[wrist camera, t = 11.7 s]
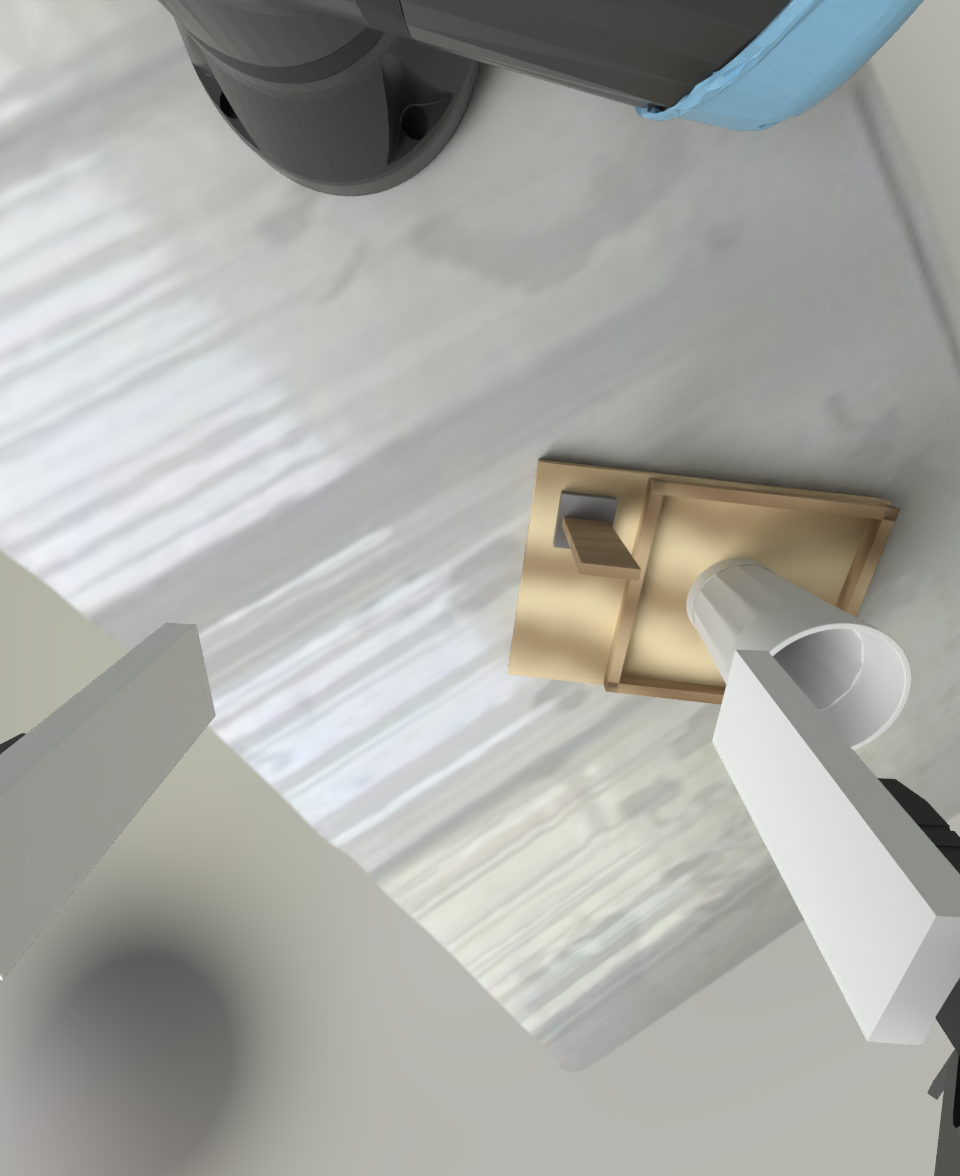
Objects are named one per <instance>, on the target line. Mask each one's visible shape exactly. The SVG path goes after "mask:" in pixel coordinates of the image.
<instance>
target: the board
mask: <svg viewBox="0 0 960 1176" xmlns="http://www.w3.org/2000/svg"><path fill="white" fill-rule="evenodd" d="M891 503H892V502H890V501H887V500H884V499H882V498H876V497H867V496H859V495H850V494H841V493H832V492H823V491H814V490H806V489H797V488H788V487H779V486H770V485H762V484H753V483H744V482H735V481H726V480H717V479H709V478H700V477H691V476H682V475H673V474H664V473H656V472H647V471H638V470H629V469H620V468H612V467H603V466H594V465H585V464H576V463H567V462H559V461H550V460H541V459H538V465H537V472H536V479H535V486H534V493H533V500H532V506H531V513H530V520H529V527H528V534H527V541H526V548H525V555H524V562H523V569H522V576H521V583H520V590H519V597H518V604H517V611H516V618H515V625H514V632H513V639H512V646H511V653H510V660H509V674H511V675H520V676H529V677H538V678H547V679H556V680H564V681H573V682H582V683H591V684H600V685H604V687H605V690H606V691H607V692H616V693H625V694H634V695H643V696H652V697H660V698H669V699H678V700H687V701H696V702H704V703H713V704H722V701H723V697H724V693H725V689H726V683H725V681H724V679H723V677H722V676H721V674H720V672H719V670H718V668H717V666H716V665H715V663H714V661H713V659H712V657H711V655H710V653H709V652H708V650H707V648H706V646H705V644H704V642H703V641H702V639H701V637H700V635H699V633H698V632H697V630H696V629H695V628H694V626H693V625H692V623H691V622H690V620H689V617H688V614H687V608H686V602H687V596H688V593H689V590H690V588H691V586H692V584H693V583H694V581H695V580H696V579H697V577H698V576H699V575H700V574H701V573H702V572H703V571H705V570H706V569H707V568H709V567H710V566H712V565H714V564H716V563H718V562H720V561H723V560H727V559H732V558H747V559H752V560H755V561H758V562H760V563H762V564H763V565H765V566H766V567H768V568H769V569H770V570H772V571H773V572H774V573H775V574H777V575H779V576H781V577H783V578H784V579H786V580H788V581H790V582H791V583H793V584H795V585H797V586H799V587H800V588H802V589H804V590H806V591H807V592H809V593H811V594H813V595H815V596H816V597H818V598H820V599H822V600H823V601H825V602H827V603H829V604H831V605H832V606H835V607H837V608H839V609H841V610H843V611H845V612H847V613H849V614H851V615H853V616H854V617H856V616H857V613H858V611H859V608H860V606H861V603H862V601H863V599H864V596H865V594H866V591H867V589H868V586H869V584H870V581H871V579H872V577H873V574H874V572H875V569H876V567H877V564H878V562H879V559H880V557H881V554H882V552H883V550H884V547H885V545H886V542H887V540H888V537H889V535H890V532H891V530H892V528H893V525H894V523H895V520H896V518H897V515H898V513H899V510H900V509H898V508H896V507H893V506H890V505H891Z"/></svg>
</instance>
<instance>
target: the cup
mask: <svg viewBox="0 0 960 1176" xmlns="http://www.w3.org/2000/svg"><path fill="white" fill-rule="evenodd" d="M686 608H687V614H688V617H689V620H690V622H691V623H692V625H693V626H694V628H695V629H696V630H697V632H698V633H699V635H700V637H701V639H702V641H703V642H704V644H705V646H706V648H707V650H708V652H709V653H710V655H711V657H712V659H713V661H714V663H715V665H716V666H717V668H718V670H719V672H720V674H721V676H722V677H723V679H724V681H725V683H726V685H727V681H728V677H729V673H730V669H731V665H732V661H733V656H734V652H735V650H757V651H768V652H769V653H770V654H771V655H772V656H773V658H774V659H775V660H776V661H777V662H778V663H779V665H780V666H781V667H782V668H783V669H784V670H785V672H786V673H787V674H788V675H789V676H790V677H791V678H792V680H793V681H794V682H795V683H796V684H797V685H798V687H799V688H800V689H801V690H802V691H803V692H804V694H805V695H806V696H807V697H808V698H809V699H810V701H811V702H812V703H813V704H814V705H815V706H816V708H817V709H818V710H819V711H820V712H821V713H822V715H823V716H824V717H825V718H826V719H827V720H828V722H829V723H830V724H831V725H832V726H833V727H834V728H835V730H836V731H837V732H838V733H839V734H840V735H841V737H842V738H843V739H844V740H845V741H846V742H847V744H848V745H849V746H850V747H851V748H852V749H853V751H854V750H856V749H858V748H860V747H862V746H864V745H866V744H868V743H869V742H871V741H872V740H874V739H875V738H877V737H878V736H879V735H881V734H882V733H883V732H884V731H885V730H886V729H887V728H888V727H889V726H890V725H891V724H892V723H893V722H894V721H895V720H896V718H897V717H898V716H899V714H900V713H901V711H902V709H903V707H904V705H905V703H906V701H907V699H908V696H909V692H910V688H911V668H910V664H909V660H908V658H907V656H906V654H905V652H904V650H903V649H902V647H901V646H900V645H899V644H898V643H897V642H896V641H895V640H894V639H893V638H892V637H890V636H889V635H888V634H886V633H884V632H883V631H881V630H879V629H877V628H875V627H873V626H871V625H869V624H868V623H866V622H864V621H862V620H860V619H858V618H856V617H854V616H853V615H851V614H849V613H847V612H845V611H843V610H841V609H839V608H837V607H835V606H832V605H831V604H829V603H827V602H825V601H823V600H822V599H820V598H818V597H816V596H815V595H813V594H811V593H809V592H807V591H806V590H804V589H802V588H800V587H799V586H797V585H795V584H793V583H791V582H790V581H788V580H786V579H784V578H783V577H781V576H779V575H777V574H775V573H774V572H773V571H772V570H770V569H769V568H768V567H766V566H765V565H763V564H762V563H760V562H758V561H755V560H752V559H747V558H732V559H727V560H723V561H720V562H718V563H716V564H714V565H712V566H710V567H709V568H707V569H706V570H705V571H703V572H702V573H701V574H700V575H699V576H698V577H697V579H696V580H695V581H694V583H693V584H692V586H691V588H690V590H689V593H688V596H687V602H686Z"/></svg>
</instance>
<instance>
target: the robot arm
mask: <svg viewBox="0 0 960 1176" xmlns="http://www.w3.org/2000/svg"><path fill="white" fill-rule="evenodd" d="M158 1H159V2H160V3H161V4H162V5H163V6H164V7H165V8H166V9H167V10H168V11H169V12H170V13H171V14H172V15H173V16H174V19H175V21H176V24H177V26H178V29H179V32H180V34H181V37H182V39H183V42H184V44H185V47H186V49H187V52H188V54H189V57H190V59H191V62H192V64H193V66H194V69H195V71H196V73H197V75H198V77H199V79H200V81H201V83H202V85H203V87H204V89H205V91H206V92H207V94H208V96H209V97H210V99H211V101H212V102H213V104H214V105H215V107H216V108H217V110H218V111H219V112H220V114H221V115H222V117H223V118H224V119H225V121H226V122H227V123H228V125H229V126H230V127H231V128H232V129H233V131H234V132H235V133H236V134H237V135H238V136H239V137H240V138H241V139H242V140H243V141H244V142H245V143H246V144H247V145H248V146H249V147H250V148H251V149H252V150H253V151H254V152H256V153H257V154H258V155H259V156H260V157H261V158H262V159H263V160H265V161H266V162H267V163H268V164H269V165H270V166H272V167H273V168H274V169H276V170H277V171H278V172H280V173H281V174H283V175H284V176H286V177H287V178H289V179H291V180H293V181H295V182H296V183H298V184H300V185H303V186H305V187H307V188H310V189H313V190H316V191H319V192H323V193H327V194H332V195H339V196H361V195H368V194H373V193H378V192H381V191H384V190H387V189H390V188H392V187H395V186H397V185H399V184H401V183H403V182H405V181H406V180H408V179H409V178H411V177H412V176H414V175H415V174H417V173H418V172H419V171H421V170H422V169H423V168H424V167H425V166H426V165H428V164H429V163H430V162H431V161H432V160H433V159H434V158H435V157H436V155H437V154H438V153H439V152H440V151H441V150H442V148H443V147H444V146H445V145H446V143H447V142H448V140H449V139H450V137H451V136H452V134H453V133H454V131H455V129H456V128H457V126H458V124H459V122H460V120H461V118H462V116H463V114H464V112H465V110H466V108H467V105H468V103H469V100H470V97H471V95H472V92H473V89H474V85H475V82H476V78H477V74H478V70H479V65H480V62H483V63H486V64H490V65H493V66H497V67H500V68H504V69H507V70H511V71H514V72H517V73H521V74H524V75H528V76H531V77H535V78H538V79H542V80H545V81H548V82H552V83H555V84H559V85H562V86H566V87H569V88H573V89H576V90H579V91H583V92H586V93H590V94H593V95H597V96H600V97H604V98H607V99H610V100H614V101H617V102H621V103H624V104H628V105H631V106H635V108H636V111H637V114H638V115H640V116H642V117H645V118H647V119H650V120H656V121H662V120H667V119H672V118H675V117H678V118H682V119H687V120H691V121H696V122H700V123H705V124H709V125H713V126H718V127H722V128H727V129H731V130H737V131H757V130H763V129H767V128H769V127H771V126H773V125H775V124H777V123H779V122H781V121H783V120H786V119H787V118H790V117H794V116H798V115H800V114H801V113H803V112H805V111H807V110H808V109H810V108H812V107H813V106H815V105H816V104H817V103H819V102H820V101H821V100H823V99H824V98H825V97H827V96H828V95H829V94H831V93H832V92H833V91H834V90H836V89H837V88H838V87H839V86H841V85H842V84H843V83H844V82H845V81H846V80H847V79H849V78H850V77H851V76H852V75H853V74H854V73H855V72H856V71H857V70H858V69H859V68H860V67H862V66H863V65H864V64H865V63H866V62H867V61H868V60H869V59H870V58H871V57H872V56H873V55H874V54H875V53H876V52H877V51H878V50H879V49H880V48H881V47H882V46H883V45H884V44H885V43H886V42H887V41H888V40H889V39H890V38H891V37H892V35H893V34H894V33H895V32H896V31H897V30H898V29H899V28H900V27H901V26H902V25H903V23H904V22H905V21H906V20H907V19H908V18H909V17H910V16H911V14H912V13H913V12H914V11H915V10H916V9H917V7H918V6H919V5H920V4H921V3H922V2H923V0H158ZM215 716H216V715H215V711H214V706H213V701H212V696H211V692H210V687H209V682H208V678H207V673H206V668H205V663H204V659H203V654H202V649H201V644H200V640H199V635H198V630H197V625H196V624H178V623H165V624H164V625H163V626H162V627H160V628H159V629H158V630H156V631H155V632H154V633H153V634H151V635H150V636H149V637H148V638H146V639H145V640H144V641H143V642H141V643H140V644H139V645H138V646H136V647H135V648H134V649H133V650H131V651H130V652H129V653H128V654H126V655H125V656H124V657H123V658H121V659H120V660H119V661H117V662H116V663H115V664H114V665H112V666H111V667H110V668H109V669H107V670H106V671H105V672H104V673H102V674H101V675H100V676H99V677H97V678H96V679H95V680H94V681H92V682H91V683H90V684H89V685H87V686H86V687H85V688H83V689H82V690H81V691H80V692H78V693H77V694H76V695H75V696H73V697H72V698H71V699H70V700H68V701H67V702H66V703H65V704H63V705H62V706H61V707H60V708H58V709H57V710H56V711H55V712H53V713H52V714H51V715H50V716H48V717H47V718H46V719H44V720H43V721H42V722H41V723H39V724H38V725H37V726H36V727H34V728H33V729H32V730H31V731H29V732H28V733H27V734H24V733H23V734H22V733H21V734H20V735H18V736H16V737H14V738H12V739H10V740H8V741H6V742H4V743H2V744H0V980H3V979H4V978H5V977H6V976H7V974H8V973H9V972H10V971H11V969H12V968H13V967H14V966H15V965H16V963H17V962H18V961H19V960H20V958H21V957H22V956H23V955H24V953H25V952H26V951H27V950H28V948H29V947H30V946H31V945H32V943H33V942H34V940H35V939H36V938H37V937H38V936H39V935H40V933H41V932H42V931H43V930H44V928H45V927H46V926H47V925H48V923H49V922H50V921H51V920H52V918H53V917H54V916H55V915H56V914H57V912H58V911H59V910H60V909H61V907H62V906H63V905H64V904H65V902H66V901H67V900H68V899H69V897H70V896H71V895H72V894H73V892H74V891H75V890H76V889H77V887H78V886H79V885H80V884H81V882H82V881H83V880H84V879H85V877H86V876H87V875H88V874H89V872H90V871H91V870H92V869H93V867H94V866H95V865H96V864H97V863H98V861H99V860H100V859H101V858H102V856H103V855H104V854H105V853H106V851H107V850H108V849H109V848H110V846H111V845H112V844H113V843H114V841H115V840H116V839H117V838H118V836H119V835H120V834H121V833H122V831H123V830H124V829H125V828H126V826H127V825H128V824H129V823H130V821H131V820H132V819H133V818H134V816H135V815H136V814H137V812H138V811H139V810H140V809H141V808H142V807H143V805H144V804H145V803H146V802H147V800H148V799H149V798H150V797H151V795H152V794H153V793H154V792H155V790H156V789H157V788H158V787H159V785H160V784H161V783H162V782H163V780H164V779H165V778H166V777H167V775H168V774H169V773H170V772H171V770H172V769H173V768H174V767H175V765H176V764H177V763H178V762H179V760H180V759H181V758H182V757H183V756H184V754H185V753H186V752H187V751H188V749H189V748H190V747H191V746H192V744H193V743H194V742H195V741H196V739H197V738H198V737H199V736H200V734H201V733H202V732H203V730H204V729H205V728H206V727H207V726H208V724H209V723H210V722H211V721H212V719H213V718H214V717H215ZM712 742H713V744H714V746H715V748H716V750H717V752H718V754H719V756H720V758H721V760H722V762H723V764H724V766H725V767H726V769H727V771H728V773H729V775H730V777H731V779H732V781H733V783H734V785H735V787H736V789H737V791H738V793H739V794H740V796H741V798H742V800H743V802H744V804H745V806H746V808H747V810H748V812H749V814H750V816H751V818H752V820H753V821H754V823H755V825H756V827H757V829H758V831H759V833H760V835H761V837H762V839H763V841H764V843H765V845H766V847H767V849H768V850H769V852H770V854H771V856H772V858H773V860H774V862H775V864H776V866H777V868H778V870H779V872H780V874H781V876H782V877H783V879H784V881H785V883H786V885H787V887H788V889H789V891H790V893H791V895H792V897H793V899H794V901H795V903H796V904H797V906H798V908H799V910H800V912H801V914H802V916H803V918H804V920H805V922H806V924H807V926H808V928H809V930H810V931H811V933H812V935H813V937H814V939H815V941H816V943H817V945H818V947H819V949H820V951H821V953H822V955H823V957H824V958H825V960H826V962H827V964H828V966H829V968H830V970H831V972H832V974H833V976H834V978H835V980H836V982H837V983H838V986H839V987H840V989H841V991H842V993H843V995H844V997H845V999H846V1001H847V1003H848V1005H849V1007H850V1009H851V1011H852V1013H853V1014H854V1016H855V1018H856V1020H857V1022H858V1024H859V1026H860V1028H861V1030H862V1032H863V1034H864V1036H865V1038H866V1039H867V1041H868V1042H882V1043H897V1044H911V1045H922V1043H923V1041H924V1040H925V1038H926V1036H927V1035H928V1033H929V1032H930V1030H931V1028H932V1027H933V1025H934V1024H935V1022H936V1020H937V1021H938V1023H939V1024H940V1026H941V1027H942V1029H943V1031H944V1032H945V1033H946V1035H947V1037H948V1038H949V1040H950V1042H951V1043H952V1045H953V1046H954V1048H955V1050H954V1051H953V1053H952V1054H951V1056H950V1057H949V1059H948V1060H947V1062H946V1063H945V1065H944V1066H943V1068H942V1069H941V1071H940V1072H939V1074H938V1075H937V1077H936V1078H935V1080H934V1081H933V1083H932V1085H931V1087H930V1089H929V1091H928V1094H929V1095H931V1096H932V1097H934V1098H935V1099H938V1098H939V1096H940V1095H941V1093H942V1092H943V1090H944V1095H943V1104H942V1112H941V1113H942V1114H941V1121H940V1130H939V1139H938V1148H937V1156H936V1166H935V1175H934V1176H960V837H959V836H958V835H957V834H956V832H955V831H951V830H950V828H949V827H950V826H949V825H948V824H947V823H946V822H945V821H944V819H943V818H942V817H941V816H940V815H939V814H938V813H937V812H936V811H935V810H934V809H933V808H932V806H931V805H930V804H929V803H928V802H927V801H926V800H924V799H923V798H921V797H920V796H919V795H917V794H916V793H914V792H913V791H911V790H910V789H909V788H907V787H906V786H904V785H903V784H902V783H900V782H899V781H897V780H896V779H882V778H877V777H876V776H875V775H874V774H873V773H872V772H871V770H870V769H869V768H868V767H867V766H866V765H865V763H864V762H863V761H862V760H861V759H860V758H859V756H858V755H857V754H856V753H855V752H854V751H853V749H852V748H851V747H850V746H849V745H848V744H847V742H846V741H845V740H844V739H843V738H842V737H841V735H840V734H839V733H838V732H837V731H836V730H835V728H834V727H833V726H832V725H831V724H830V723H829V722H828V720H827V719H826V718H825V717H824V716H823V715H822V713H821V712H820V711H819V710H818V709H817V708H816V706H815V705H814V704H813V703H812V702H811V701H810V699H809V698H808V697H807V696H806V695H805V694H804V692H803V691H802V690H801V689H800V688H799V687H798V685H797V684H796V683H795V682H794V681H793V680H792V678H791V677H790V676H789V675H788V674H787V673H786V672H785V670H784V669H783V668H782V667H781V666H780V665H779V663H778V662H777V661H776V660H775V659H774V658H773V656H772V655H771V654H770V653H769V652H768V651H757V650H735V652H734V656H733V661H732V665H731V669H730V673H729V677H728V681H727V685H726V689H725V693H724V697H723V701H722V705H721V709H720V713H719V717H718V721H717V725H716V729H715V733H714V737H713V741H712Z"/></svg>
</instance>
